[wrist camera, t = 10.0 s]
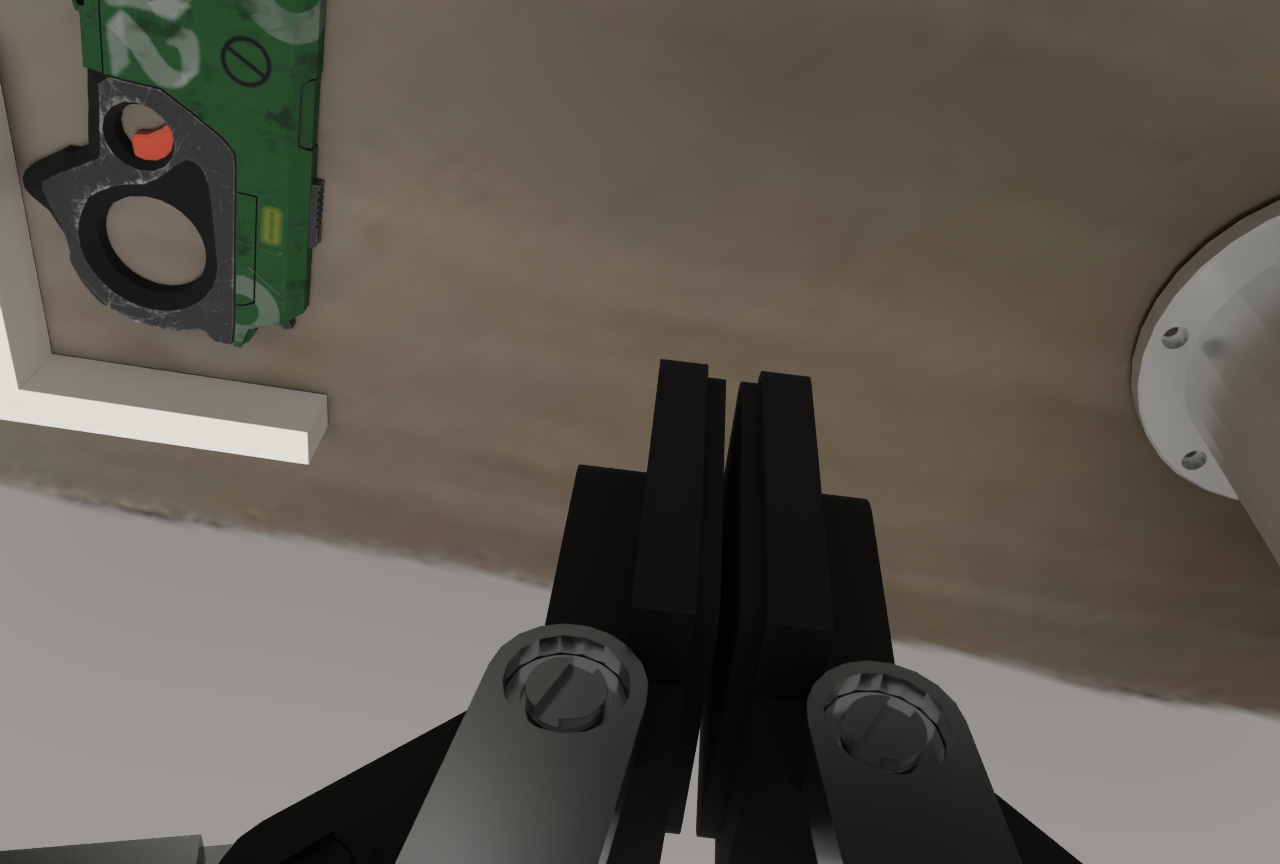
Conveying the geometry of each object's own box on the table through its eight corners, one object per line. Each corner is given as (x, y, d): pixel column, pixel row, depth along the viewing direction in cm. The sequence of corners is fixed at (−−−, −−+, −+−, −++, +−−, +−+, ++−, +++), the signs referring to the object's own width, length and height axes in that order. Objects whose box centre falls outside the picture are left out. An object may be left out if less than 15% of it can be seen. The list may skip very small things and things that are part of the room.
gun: (-27, -201, 31) (333, -111, 32) (0, -207, 32) (346, -120, 33) (29, 301, 40) (306, 361, 41) (49, 282, 42) (317, 341, 42)
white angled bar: (312, -211, 31) (268, -195, 28) (327, 426, 44) (298, 484, 41) (-140, -287, 31) (-233, -279, 28) (7, 378, 44) (-46, 433, 41)
